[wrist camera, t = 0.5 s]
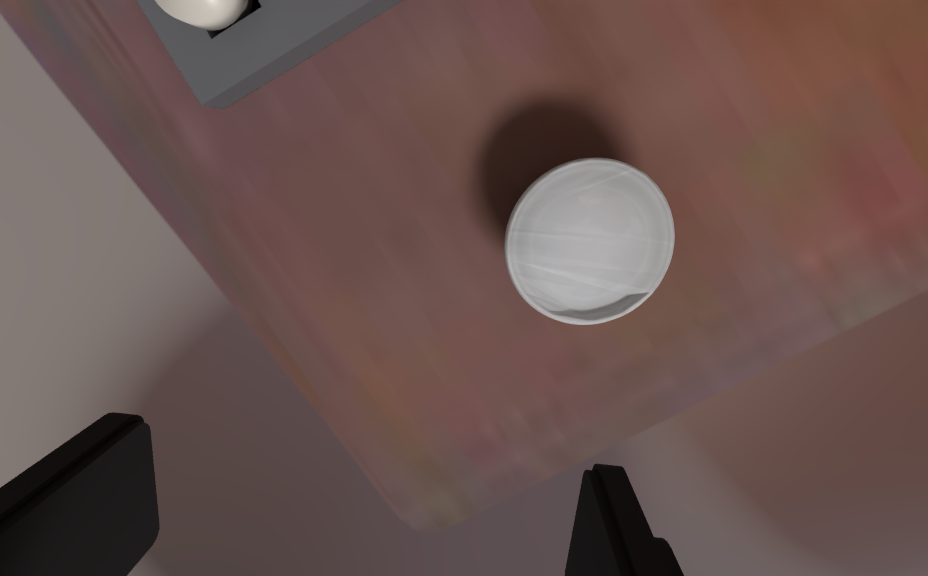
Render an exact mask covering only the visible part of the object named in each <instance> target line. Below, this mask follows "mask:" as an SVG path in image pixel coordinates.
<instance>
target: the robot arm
mask: <svg viewBox="0 0 928 576" xmlns="http://www.w3.org/2000/svg"><path fill="white" fill-rule="evenodd" d="M158 532H159V516H158V505H157V494H156V484H155V473H154V464H153V452H152V442H151V432H150V427H149V425H148V424H146V423H144V420H143V418H142V417H141V416H139V415H133V414H123V413H108V414H106V415H104V416H103V417H101V418H100V419H98V420H97V421H96V422H94V423H93V424H92V425H90V426H88V427H87V428H86V429H84V430H83V431H81V432H80V433H79V434H77V435H75V436H74V437H73V438H71V439H70V440H69V441H67V442H65V443H64V444H63V445H61V446H60V447H58V448H57V449H55V450H54V451H52V452H51V453H50V454H48V455H47V456H45V457H44V458H42V459H41V460H40V461H38V462H37V463H35V464H34V465H32V466H31V467H30V468H28V469H27V470H25V471H24V472H22V473H21V474H19V475H18V476H17V477H15V478H14V479H12V480H11V481H9V482H8V483H7V484H5V485H4V486H2V487H1V488H0V576H127V575H128V574H129V572H130V571H131V570H132V569H133V568H134V566H135V565H136V564H137V563H138V562H139V561H140V559H141V558H142V557H143V556H144V555H145V553H146V552H147V551H148V550H149V548H151V546H152V545H153V543H154V542H155V540H156V538H157V535H158ZM565 576H684V575H683V573H682V571H681V568H680V566H679V564H678V562H677V560H676V557H675V555H674V553H673V551H672V549H671V547H670V545H669V544H668V542H667V541H666V540H665V539H663V538H656V537H653V534H652V532H651V529H650V527H649V525H648V523H647V520H646V518H645V516H644V513H643V511H642V509H641V506H640V504H639V502H638V500H637V497H636V495H635V493H634V490H633V488H632V486H631V483H630V481H629V479H628V476H627V474H626V472H625V470H624V468H623V467H621V466H613V465H603V464H595V465H594V466H593V469H592V470H585V471H584V474H583V478H582V484H581V489H580V494H579V500H578V505H577V510H576V516H575V521H574V527H573V532H572V537H571V542H570V548H569V553H568V559H567V564H566V569H565Z"/></svg>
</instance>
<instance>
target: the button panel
mask: <svg viewBox="0 0 928 576" xmlns="http://www.w3.org/2000/svg"><path fill="white" fill-rule="evenodd" d="M258 1H259V3H260V4H261V6H262V7H261V8H259V9H258V10H256V11H254V12H253V13H251V14H250V15H248V16H247V17H245V18H243V19H242V20H240V21H239V22H237V23H236V24H234V25H233V26H231V27H229V28H228V29H226V30H225V31H224V30H223V29H220V30H212V31H210V30H203V29H200V28H197V27H195V26H192V25H190V24H188V23H185V22H183V21H181V20H178V19H176V18H174V17H172V16H171V15H169V14H168V13H166V12H165V11H164V10H163V9H162V8H161V7H160V6H159V5H158V4H157V3H156V1H155V0H137V2H138V4H139V5H140V7H141V9H142V10H143V12H144V13H145V15H146V17H147V18H148V20H149V22H150V23H151V25H152V26H153V28H154V30H155V31H156V33H157V35H158V36H159V38H160V40H161V41H162V43H163V44H164V46H165V48H166V49H167V51H168V53H169V54H170V56H171V57H172V59H173V61H174V62H175V64H176V66H177V67H178V69H179V70H180V72H181V74H182V75H183V77H184V79H185V80H186V82H187V83H188V85H189V87H190V88H191V90H192V92H193V93H194V95H195V96H196V98H197V100H198V101H199V103H200V105H201V106H208V107H214V108H220V109H225V108H226V107H228V106H230V105H231V104H233V103H235V102H236V101H238V100H240V99H241V98H243V97H245V96H246V95H248V94H249V93H251V92H253V91H254V90H256V89H258V88H259V87H261V86H263V85H264V84H266V83H268V82H269V81H271V80H272V79H274V78H276V77H277V76H279V75H281V74H282V73H284V72H286V71H287V70H289V69H291V68H292V67H294V66H295V65H297V64H299V63H300V62H302V61H304V60H305V59H307V58H309V57H310V56H312V55H314V54H315V53H317V52H318V51H320V50H322V49H323V48H325V47H327V46H328V45H330V44H332V43H333V42H335V41H337V40H338V39H340V38H341V37H343V36H345V35H346V34H348V33H350V32H351V31H353V30H355V29H356V28H358V27H359V26H361V25H363V24H364V23H366V22H368V21H369V20H371V19H373V18H374V17H376V16H378V15H379V14H381V13H382V12H384V11H386V10H387V9H389V8H391V7H392V6H394V5H396V4H397V3H399V2H401V1H402V0H258Z"/></svg>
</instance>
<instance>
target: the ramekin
mask: <svg viewBox="0 0 928 576" xmlns="http://www.w3.org/2000/svg"><path fill="white" fill-rule="evenodd" d="M674 238H675V235H674V223H673V218H672V214H671V210H670V207H669V205H668V202H667V200H666V198H665V196H664V195H663V193H662V191H661V190H660V189H659V187H658V186H657V185H656V184H655V183H654V181H653V180H652V179H651V178H650V177H649V176H648V175H647V174H646V173H644V172H642V171H641V170H639V169H637V168H635V167H633V166H631V165H629V164H627V163H624V162H621V161H618V160H614V159H609V158H583V159H577V160H573V161H569V162H566V163H564V164H561V165H559V166H557V167H555V168H553V169H551V170H549V171H547V172H546V173H544V174H543V175H541V176H540V177H539V178H538V179H536V180H535V181H534V182H533V183H532V184H531V185H530V186H529V187H528V188H527V189H526V190H525V192H524V193H523V194H522V196H521V197H520V198H519V200H518V201H517V203H516V205H515V207H514V209H513V211H512V213H511V215H510V218H509V221H508V224H507V228H506V233H505V243H504V252H505V261H506V265H507V269H508V272H509V275H510V278H511V280H512V282H513V284H514V286H515V287H516V289H517V291H518V292H519V293H520V295H521V296H522V297H523V298H524V300H525V301H526V302H527V303H529V304H530V305H531V306H532V307H533V308H534V309H536V310H537V311H539V312H540V313H542V314H544V315H545V316H547V317H550V318H552V319H555V320H558V321H561V322H565V323H569V324H579V325H591V324H598V323H603V322H607V321H610V320H613V319H616V318H619V317H621V316H623V315H625V314H627V313H629V312H630V311H632V310H634V309H635V308H637V307H638V306H639V305H640V304H642V303H643V302H644V301H645V300H646V299H647V298H648V297H649V296H650V295H651V294H652V293H653V292H654V290H655V289H656V288H657V287H658V285H659V284H660V282H661V280H662V279H663V277H664V275H665V273H666V271H667V269H668V267H669V264H670V261H671V258H672V254H673V248H674Z"/></svg>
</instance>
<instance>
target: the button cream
mask: <svg viewBox="0 0 928 576" xmlns="http://www.w3.org/2000/svg"><path fill="white" fill-rule="evenodd" d="M155 1H156V3H157V4H158V5H159V6H160V7H161V8H162V9H163V10H164V11H165V12H166V13H168V14H169V15H171V16H172V17H174V18H176V19H178V20H181V21H183V22H185V23H188V24H190V25H192V26H195V27H197V28H200V29H203V30H210V31H212V30H220V29H223V28H226V27H228V26H229V25H231V24H236V23H237V22H239V21H240V20H242V19H243V18H245V17H247V16H248V15H249V14H250V13H251V10H252V5H253V0H155Z"/></svg>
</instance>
